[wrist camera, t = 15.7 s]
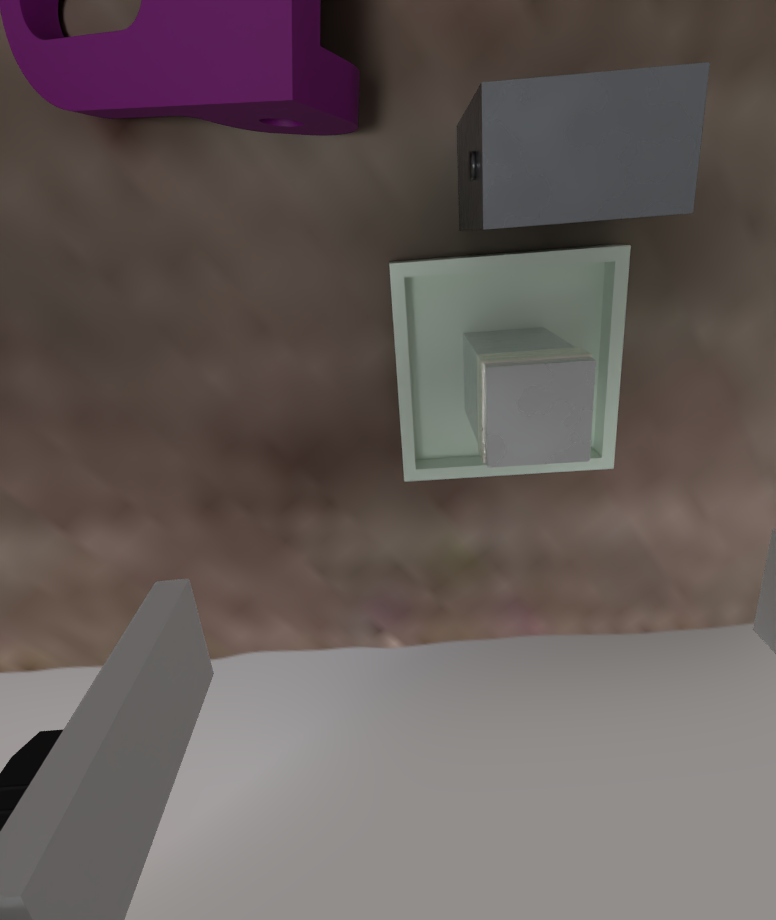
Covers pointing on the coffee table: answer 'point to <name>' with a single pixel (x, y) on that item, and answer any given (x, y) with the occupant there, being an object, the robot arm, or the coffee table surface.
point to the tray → (500, 308)
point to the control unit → (581, 147)
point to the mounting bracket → (193, 65)
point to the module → (528, 397)
